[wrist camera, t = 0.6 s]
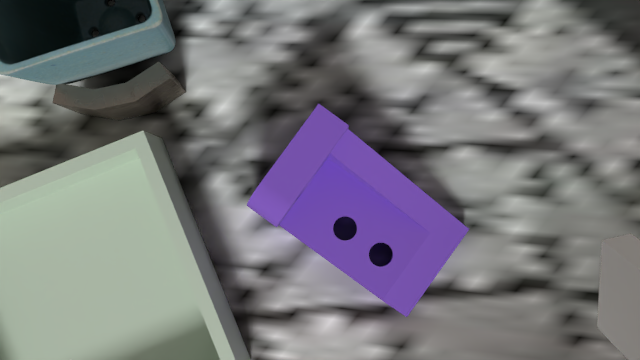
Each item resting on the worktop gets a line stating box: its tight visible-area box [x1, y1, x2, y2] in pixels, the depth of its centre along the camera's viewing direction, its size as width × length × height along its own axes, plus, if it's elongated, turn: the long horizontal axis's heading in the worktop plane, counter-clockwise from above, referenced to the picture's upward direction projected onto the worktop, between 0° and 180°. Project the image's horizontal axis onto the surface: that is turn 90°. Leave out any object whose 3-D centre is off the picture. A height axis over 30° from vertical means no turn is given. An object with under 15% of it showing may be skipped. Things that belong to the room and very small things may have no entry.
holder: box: [53, 61, 186, 120], centre depth 34 cm, size 12×7×4 cm, turn 12°
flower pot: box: [0, 0, 175, 85], centre depth 31 cm, size 9×9×9 cm
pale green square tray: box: [0, 130, 251, 360], centre depth 33 cm, size 16×16×4 cm
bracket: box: [247, 104, 469, 317], centre depth 32 cm, size 12×7×7 cm, turn 54°
